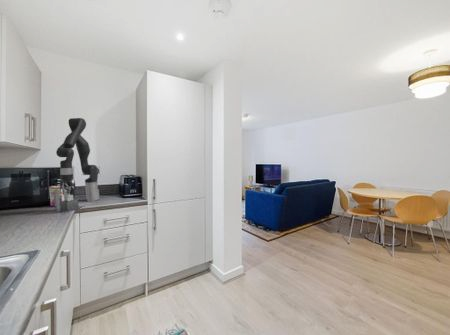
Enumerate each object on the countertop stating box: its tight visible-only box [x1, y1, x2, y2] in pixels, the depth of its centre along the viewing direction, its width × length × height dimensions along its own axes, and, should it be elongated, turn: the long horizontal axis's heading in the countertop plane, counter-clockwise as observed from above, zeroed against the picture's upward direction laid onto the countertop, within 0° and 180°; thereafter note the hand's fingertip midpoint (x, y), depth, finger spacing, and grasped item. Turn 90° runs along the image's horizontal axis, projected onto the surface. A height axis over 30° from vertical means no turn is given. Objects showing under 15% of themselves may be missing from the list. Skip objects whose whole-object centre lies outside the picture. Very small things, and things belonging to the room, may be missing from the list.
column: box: [63, 187, 74, 202], centre depth 152 cm, size 5×4×16 cm
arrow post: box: [54, 191, 62, 214], centre depth 146 cm, size 4×2×16 cm, turn 160°
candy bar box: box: [48, 185, 64, 207], centre depth 164 cm, size 11×5×16 cm, turn 84°
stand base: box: [53, 198, 86, 214], centre depth 153 cm, size 14×14×7 cm
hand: (68, 194), depth 152 cm, fingers open, 8 cm apart
